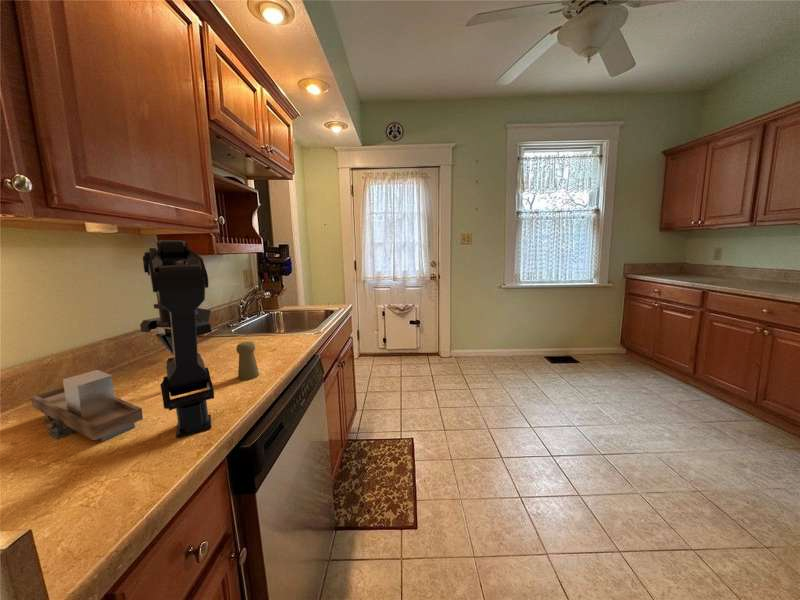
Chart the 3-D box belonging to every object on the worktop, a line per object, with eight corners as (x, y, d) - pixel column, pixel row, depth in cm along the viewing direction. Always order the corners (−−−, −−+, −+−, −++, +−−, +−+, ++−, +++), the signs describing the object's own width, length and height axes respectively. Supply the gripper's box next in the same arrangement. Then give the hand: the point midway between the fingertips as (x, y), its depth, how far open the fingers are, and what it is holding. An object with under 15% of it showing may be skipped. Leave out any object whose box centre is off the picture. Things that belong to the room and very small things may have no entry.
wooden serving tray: (142, 419, 73) (141, 408, 72) (94, 440, 65) (92, 428, 64) (81, 391, 83) (80, 381, 82) (32, 407, 75) (30, 396, 74)
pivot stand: (152, 419, 75) (150, 407, 75) (80, 451, 64) (77, 437, 63) (95, 401, 85) (93, 390, 85) (24, 426, 73) (21, 414, 73)
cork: (253, 380, 97) (250, 345, 95) (234, 380, 97) (230, 345, 95) (262, 372, 103) (259, 339, 101) (244, 372, 103) (240, 339, 101)
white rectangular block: (115, 407, 74) (112, 375, 73) (82, 420, 69) (77, 386, 67) (101, 400, 76) (97, 369, 75) (67, 412, 71) (62, 379, 69)
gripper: (227, 295, 82) (234, 354, 84) (180, 292, 89) (187, 346, 91) (183, 302, 72) (192, 368, 74) (134, 299, 79) (144, 359, 81)
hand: (180, 359), depth 80 cm, fingers closed
